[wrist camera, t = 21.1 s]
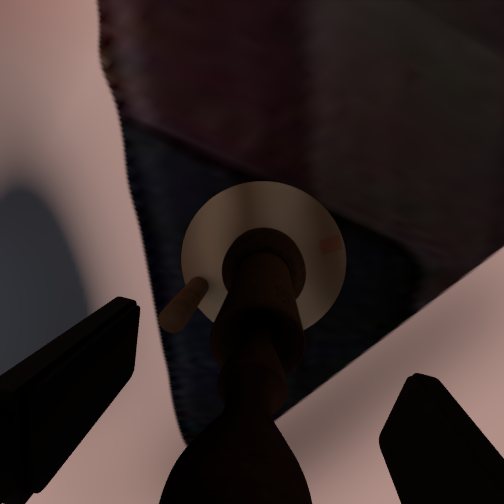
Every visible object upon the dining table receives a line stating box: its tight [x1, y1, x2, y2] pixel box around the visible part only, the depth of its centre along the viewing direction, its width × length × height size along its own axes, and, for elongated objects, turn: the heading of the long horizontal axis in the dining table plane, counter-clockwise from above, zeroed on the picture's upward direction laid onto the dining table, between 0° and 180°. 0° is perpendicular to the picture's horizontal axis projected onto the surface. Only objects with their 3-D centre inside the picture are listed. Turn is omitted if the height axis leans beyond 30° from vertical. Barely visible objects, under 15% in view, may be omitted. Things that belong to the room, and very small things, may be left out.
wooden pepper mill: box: [159, 227, 312, 504], centre depth 12 cm, size 7×6×18 cm
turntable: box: [158, 181, 346, 333], centre depth 19 cm, size 14×14×8 cm
